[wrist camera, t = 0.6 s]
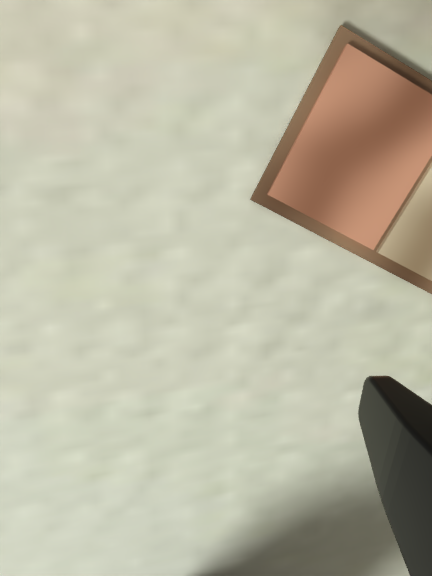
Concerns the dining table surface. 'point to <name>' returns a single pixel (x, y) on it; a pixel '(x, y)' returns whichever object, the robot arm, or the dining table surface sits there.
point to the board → (360, 159)
